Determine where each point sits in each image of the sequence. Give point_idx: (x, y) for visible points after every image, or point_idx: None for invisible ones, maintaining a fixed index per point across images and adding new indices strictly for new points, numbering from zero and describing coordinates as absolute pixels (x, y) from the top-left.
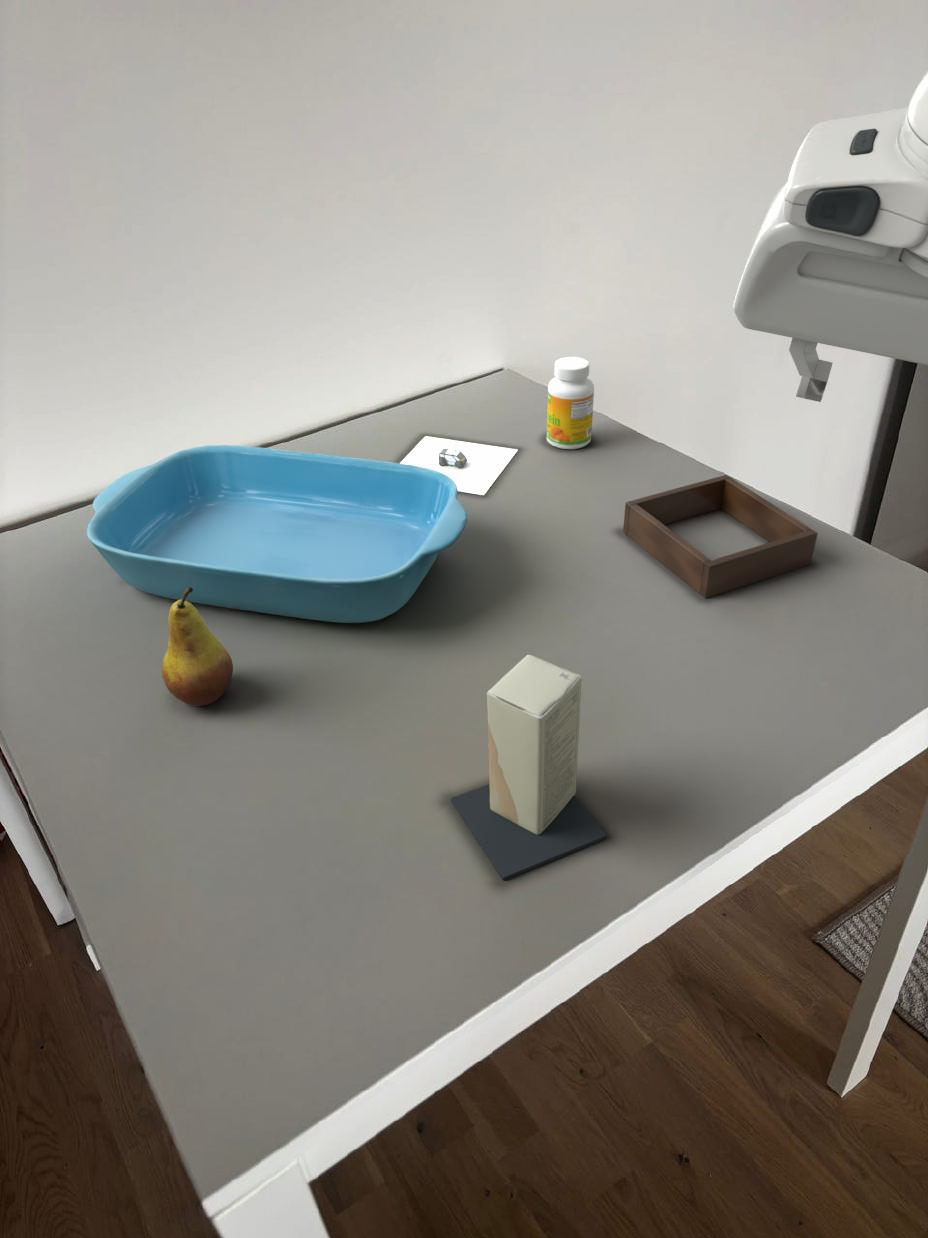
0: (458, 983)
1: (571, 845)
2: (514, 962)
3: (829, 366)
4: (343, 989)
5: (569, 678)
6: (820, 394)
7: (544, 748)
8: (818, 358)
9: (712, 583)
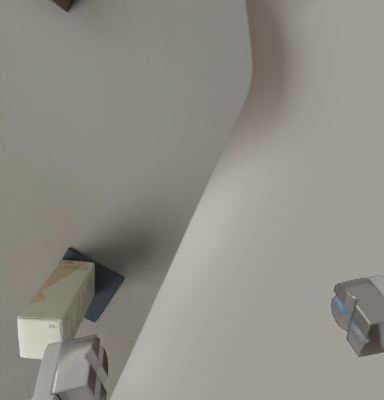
0: (109, 367)
1: (111, 292)
2: (123, 350)
3: (87, 392)
4: None
5: (56, 326)
6: (103, 383)
7: (73, 336)
8: (54, 395)
9: (64, 2)
